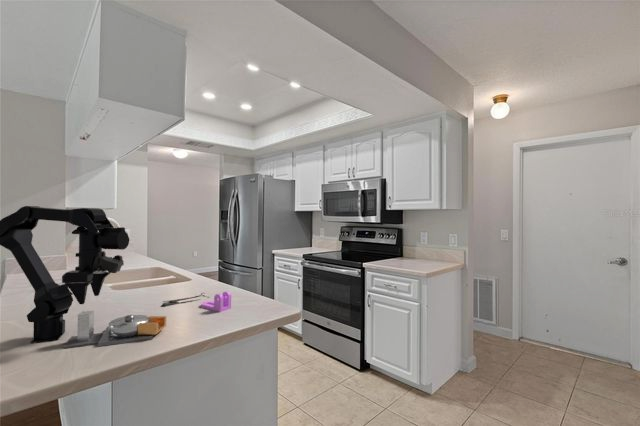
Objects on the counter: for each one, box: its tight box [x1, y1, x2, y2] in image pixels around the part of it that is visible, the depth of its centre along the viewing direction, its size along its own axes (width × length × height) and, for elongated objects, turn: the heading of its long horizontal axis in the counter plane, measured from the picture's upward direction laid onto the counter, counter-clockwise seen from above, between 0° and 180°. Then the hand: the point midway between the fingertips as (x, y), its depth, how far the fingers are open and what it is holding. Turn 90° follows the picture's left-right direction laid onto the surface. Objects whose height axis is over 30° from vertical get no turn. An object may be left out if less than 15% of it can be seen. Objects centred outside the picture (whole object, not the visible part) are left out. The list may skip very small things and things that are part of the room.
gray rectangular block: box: [76, 310, 95, 342], centre depth 93 cm, size 3×3×8 cm
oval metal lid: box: [108, 314, 167, 337], centre depth 99 cm, size 16×11×4 cm
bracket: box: [200, 290, 232, 313], centre depth 128 cm, size 13×6×7 cm, turn 60°
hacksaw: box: [160, 292, 211, 308], centre depth 139 cm, size 24×10×2 cm, turn 135°
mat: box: [62, 332, 104, 350], centre depth 93 cm, size 8×8×1 cm
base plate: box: [97, 326, 154, 347], centre depth 99 cm, size 14×14×1 cm
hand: (89, 299), depth 95 cm, fingers open, 9 cm apart
